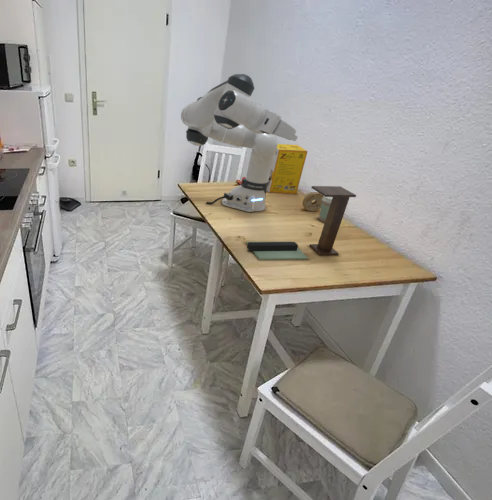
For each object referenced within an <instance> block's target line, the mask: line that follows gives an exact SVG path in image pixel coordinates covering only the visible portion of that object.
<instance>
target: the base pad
mask: <svg viewBox="0 0 492 500" xmlns="http://www.w3.org/2000/svg"><path fill="white" fill-rule="evenodd" d="M248 242H249V241H246V246H247V245H248ZM251 252H252V253H253V255H254V256H255V257H256V258H257V259H258V260H259V261H285V260H286V261H291V260H292V261H293V260H295V261H296V260H297V261H298V260H303V261H304V260H308V259H309V257H308V256H307V254H305V253H304V252H303V251H302V250H301V249H300V248H299V247H298V248H297V251H251Z"/></svg>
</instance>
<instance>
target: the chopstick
mask: <svg viewBox="0 0 492 500" xmlns="http://www.w3.org/2000/svg"><path fill="white" fill-rule="evenodd" d="M241 181H242V180H241V179H236V183H237V184H238V186H240V185H241Z"/></svg>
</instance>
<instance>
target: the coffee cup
mask: <svg viewBox="0 0 492 500" xmlns="http://www.w3.org/2000/svg"><path fill="white" fill-rule="evenodd" d="M332 198H333V197H325V196H324V197H323V198H322V205H321V208H320V209H319V210H320V211H319V216H318V220H319V221H320V222H321V223H322V222H323V223H325V220H326V217H327V214H328V211H329V208H330V204H331V201H332Z"/></svg>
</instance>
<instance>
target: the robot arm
mask: <svg viewBox="0 0 492 500" xmlns="http://www.w3.org/2000/svg"><path fill="white" fill-rule="evenodd" d="M253 81H254V80H253V79H252V77H251V76H250V75H248V74H246V73H240V72H239V73H234V74H232V75H230V76H229V77H228V79H227V80H226V81H223V82H222V83H219V84H217V85H216V86H214V87H212V88H211V89H210V90H209V91H208V92H206V94H204V95H203V96H200V97H198V98H197V99H196V101H192V102H190V103H188V104H187V105H185V106H184V107H183V109H181V111H180V120H181V122H182V123H183V124H184V125H185V126H186V127H187V130H185V133H186V134H185V135H186V137H185V138H186V141H187V143H189V144H191V145H193V146H204V145H206V143H207V142H208V140H209V139H211V140H214V141H217V142H219V143H222V144H226V145H230V146H234V147H237V148H238V147H240V148H246V149H247V148H248V149H251V153H250V157H249V162H248V166H247V171H246V176H243V177H242V178H241V180H240V181H241V185H237V186H235V187H234V188H231V189H230V190H229V192H224V193H223V196H220V197H217V198H215V200H213V201H206V204H207V205H212V204H215V203H217V202H218V201H220V200H221V204H222V205H223V206H225V207H229V208H233V209H236V210H240V211H244V212H247V213H253V212H262V211H265V210H266V207H267V206H266V196H267V193H268V191H267V190H268V185H269V182H268V180H269V176H270V171H271V167H272V163H273V160H274V157H275V153H276V150H277V146H278V144H279V141H278V137H279V138H281V139H282V138H283V139H285V140H287V141H293V142H296V141H297V139H298V135H296V133H297V129H295V127H293V126H292V125H291V124H289V123H287V122H286V120H284V119H282V116H281V115H279V114H277V113H276V112H273V111H272V110H271V109H270V108H268V107H266V106H265V105H263V104H262V103H257V102H256V101H254V99H253V98H252V97H251V96H252V95H253V93H254V91H255V84H254V82H253Z"/></svg>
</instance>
